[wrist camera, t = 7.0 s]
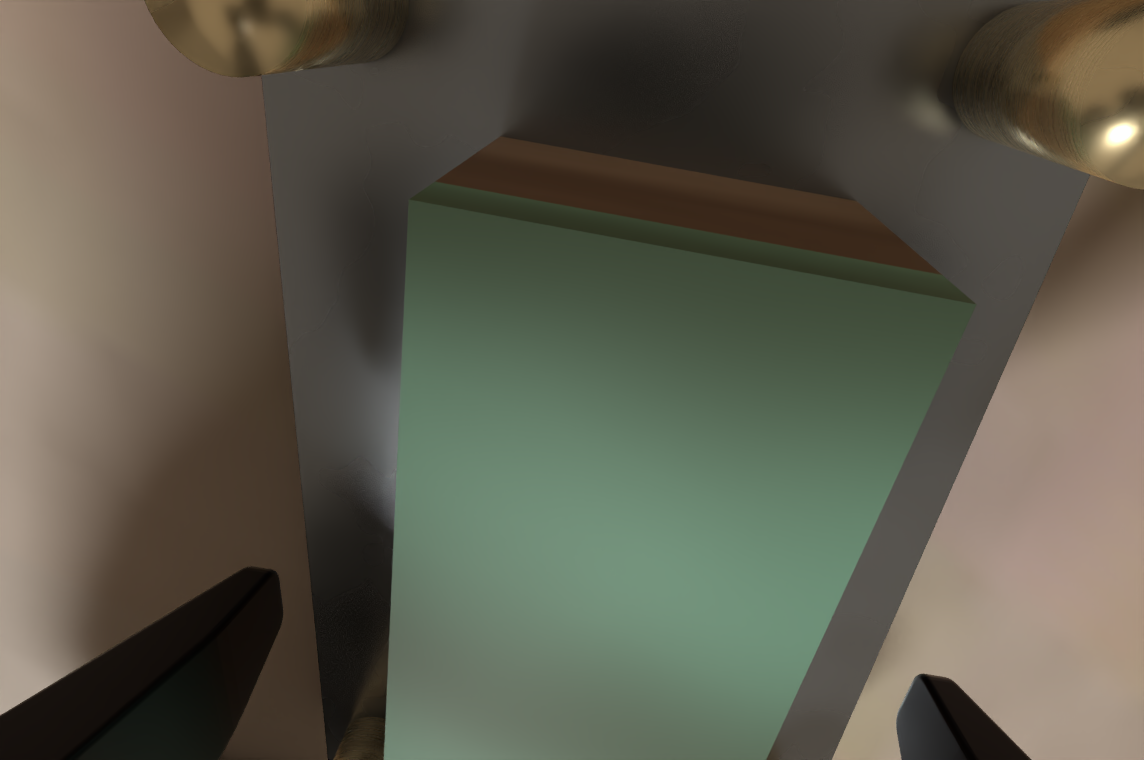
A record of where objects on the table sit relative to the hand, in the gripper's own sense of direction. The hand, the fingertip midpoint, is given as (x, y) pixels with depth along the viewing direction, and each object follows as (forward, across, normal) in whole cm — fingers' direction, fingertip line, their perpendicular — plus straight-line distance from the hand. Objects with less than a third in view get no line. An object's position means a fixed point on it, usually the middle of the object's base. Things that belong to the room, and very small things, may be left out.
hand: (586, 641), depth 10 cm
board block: (+3, 0, 0) cm, 3 cm away
